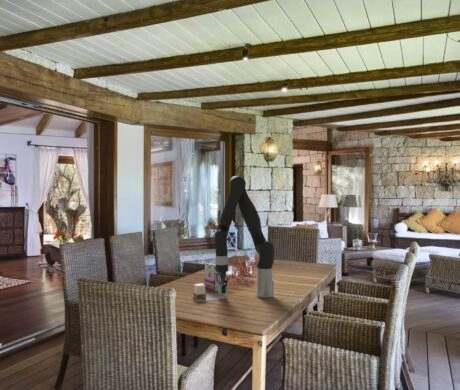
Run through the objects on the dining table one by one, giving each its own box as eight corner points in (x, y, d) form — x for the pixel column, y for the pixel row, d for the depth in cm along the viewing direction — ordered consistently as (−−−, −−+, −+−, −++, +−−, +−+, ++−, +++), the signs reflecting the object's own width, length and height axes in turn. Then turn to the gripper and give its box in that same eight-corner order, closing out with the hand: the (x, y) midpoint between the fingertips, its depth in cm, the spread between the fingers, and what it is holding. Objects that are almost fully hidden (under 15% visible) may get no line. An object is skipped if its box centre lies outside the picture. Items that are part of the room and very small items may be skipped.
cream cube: (202, 291, 235) (202, 283, 235) (205, 293, 230) (205, 285, 230) (194, 292, 233) (194, 284, 233) (196, 294, 229) (196, 286, 228)
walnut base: (202, 296, 236) (202, 291, 236) (206, 299, 230) (206, 294, 230) (193, 297, 234) (193, 292, 234) (196, 300, 228) (196, 294, 228)
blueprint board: (218, 293, 243) (218, 293, 243) (225, 299, 231) (225, 298, 231) (190, 296, 237) (190, 295, 237) (196, 302, 225) (196, 301, 225)
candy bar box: (220, 290, 251) (221, 264, 251) (214, 292, 248) (214, 265, 248) (210, 287, 260) (210, 262, 259) (204, 288, 256) (204, 263, 256)
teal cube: (224, 291, 237) (224, 283, 237) (227, 293, 233) (227, 285, 233) (217, 292, 236) (217, 284, 235) (219, 294, 231) (219, 286, 231)
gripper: (232, 264, 228) (232, 294, 229) (223, 260, 242) (224, 288, 242) (219, 266, 226) (220, 296, 226) (211, 261, 239) (212, 289, 240)
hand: (222, 292), depth 234 cm, fingers closed on teal cube, 4 cm apart
